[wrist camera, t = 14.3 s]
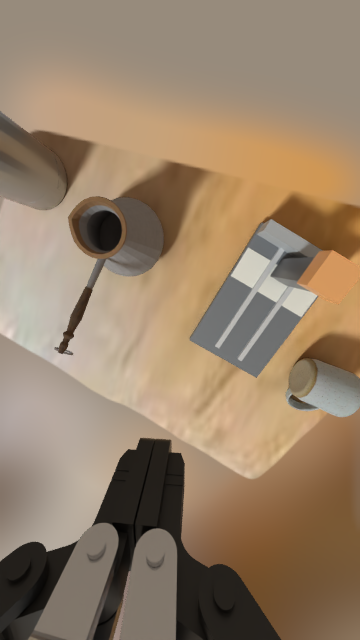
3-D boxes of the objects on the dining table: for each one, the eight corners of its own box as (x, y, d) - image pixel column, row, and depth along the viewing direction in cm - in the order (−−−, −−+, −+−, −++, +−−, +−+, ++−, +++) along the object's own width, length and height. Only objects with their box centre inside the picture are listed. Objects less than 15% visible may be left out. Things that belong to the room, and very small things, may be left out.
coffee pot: (109, 191, 34) (44, 139, 20) (176, 217, 35) (160, 184, 20) (79, 313, 40) (12, 340, 26) (137, 334, 40) (102, 374, 26)
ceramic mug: (299, 348, 38) (323, 369, 31) (342, 364, 38) (376, 389, 31) (272, 396, 41) (288, 425, 34) (312, 410, 41) (336, 443, 34)
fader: (286, 289, 34) (338, 304, 22) (266, 277, 34) (306, 285, 21) (301, 267, 34) (365, 270, 21) (280, 255, 33) (332, 250, 20)
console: (254, 374, 40) (262, 390, 35) (189, 337, 40) (188, 348, 35) (334, 268, 35) (357, 269, 30) (259, 223, 34) (270, 216, 29)
